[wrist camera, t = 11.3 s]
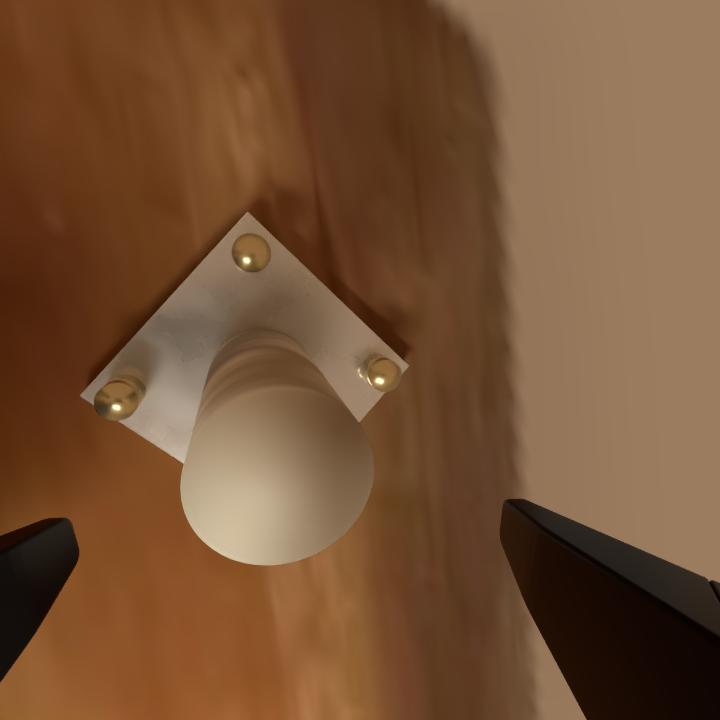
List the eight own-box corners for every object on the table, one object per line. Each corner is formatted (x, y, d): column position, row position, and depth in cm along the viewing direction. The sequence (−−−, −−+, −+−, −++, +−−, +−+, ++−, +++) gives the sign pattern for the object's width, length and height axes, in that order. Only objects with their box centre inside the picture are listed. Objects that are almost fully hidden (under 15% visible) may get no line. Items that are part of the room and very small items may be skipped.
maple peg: (206, 427, 20) (180, 575, 11) (208, 325, 19) (180, 389, 10) (309, 426, 21) (365, 554, 12) (316, 330, 20) (383, 391, 11)
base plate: (85, 390, 19) (65, 407, 17) (247, 213, 19) (247, 206, 17) (270, 511, 23) (273, 538, 20) (403, 362, 23) (421, 373, 21)
